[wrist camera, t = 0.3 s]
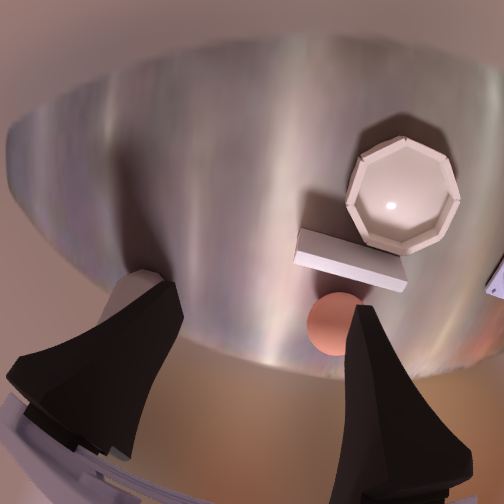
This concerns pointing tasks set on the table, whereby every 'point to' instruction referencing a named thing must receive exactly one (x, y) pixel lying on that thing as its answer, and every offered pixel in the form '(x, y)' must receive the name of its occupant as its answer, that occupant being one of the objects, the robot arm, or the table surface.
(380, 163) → the coaster
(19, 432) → the robot arm
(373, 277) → the wall
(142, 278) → the salt shaker
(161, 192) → the table surface
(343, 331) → the ball
